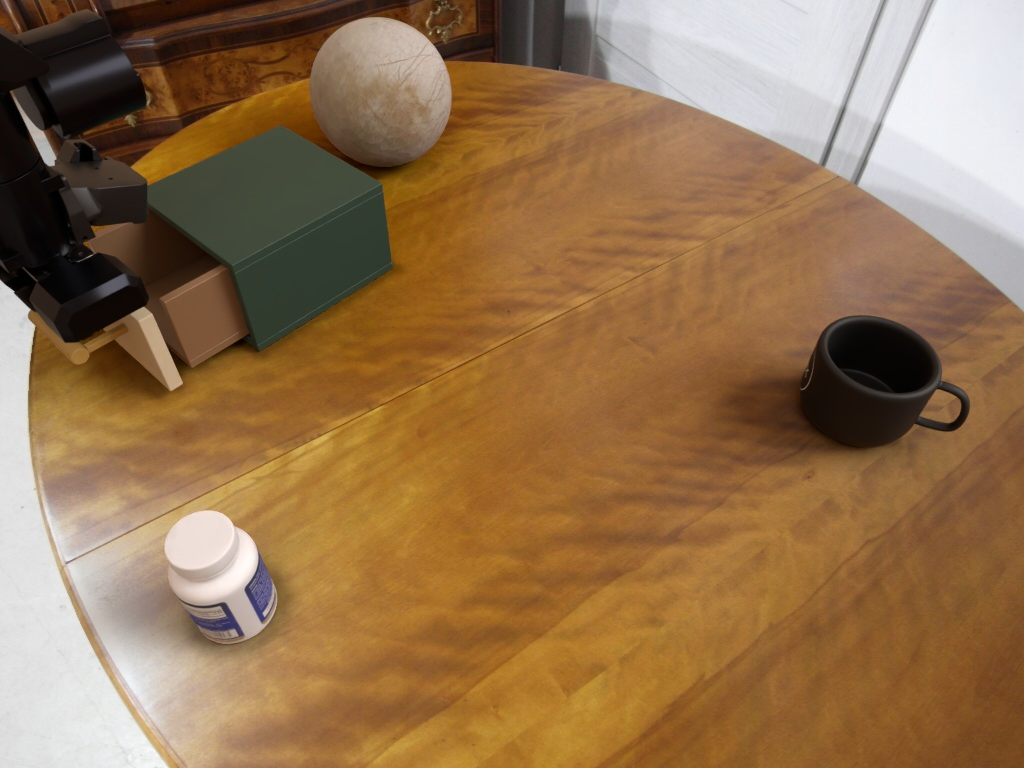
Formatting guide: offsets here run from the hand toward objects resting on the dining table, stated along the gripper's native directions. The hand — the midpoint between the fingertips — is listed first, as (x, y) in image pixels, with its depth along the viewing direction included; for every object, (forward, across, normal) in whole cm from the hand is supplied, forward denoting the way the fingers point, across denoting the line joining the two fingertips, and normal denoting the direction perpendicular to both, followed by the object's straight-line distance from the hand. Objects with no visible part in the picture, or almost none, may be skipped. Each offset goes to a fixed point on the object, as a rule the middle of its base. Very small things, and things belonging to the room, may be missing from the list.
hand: (86, 335), depth 62 cm
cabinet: (+4, 0, -18) cm, 19 cm away
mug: (+5, -50, -39) cm, 64 cm away
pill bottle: (+5, -26, +5) cm, 27 cm away
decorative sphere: (+5, +8, -39) cm, 40 cm away
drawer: (+3, 0, -7) cm, 8 cm away
